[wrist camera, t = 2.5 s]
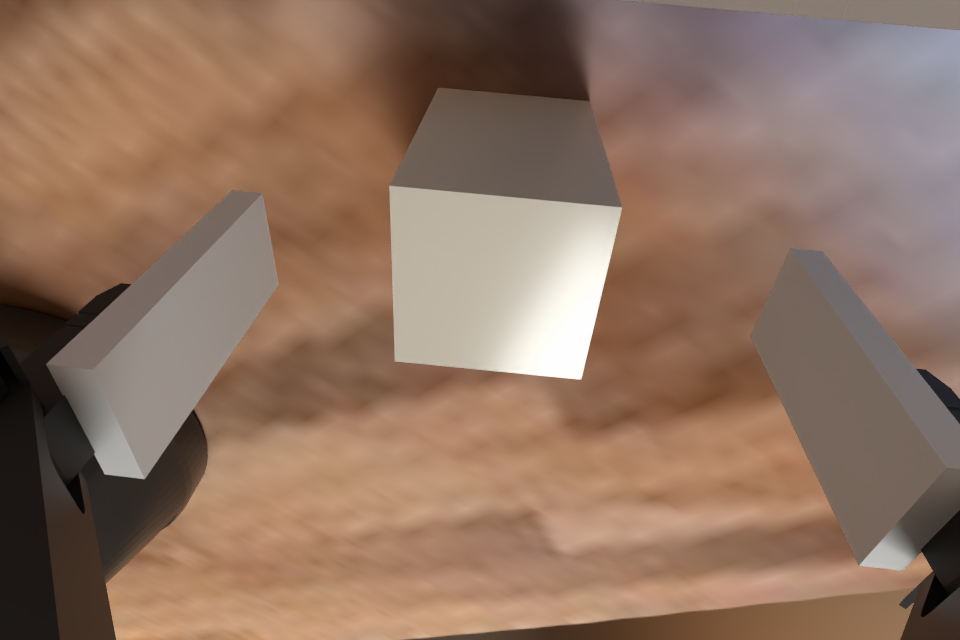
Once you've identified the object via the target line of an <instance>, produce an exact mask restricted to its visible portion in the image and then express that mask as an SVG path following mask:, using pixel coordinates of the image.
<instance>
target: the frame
mask: <svg viewBox="0 0 960 640" xmlns="http://www.w3.org/2000/svg"><path fill="white" fill-rule="evenodd" d="M621 1H632V2H643V3H655V4H666V5H678V6H689V7H700V8H712V9H723V10H735V11H746V12H757V13H769V14H780V15H792V16H803V17H814V18H826V19H837V20H849V21H860V22H871V23H883V24H894V25H906V26H917V27H928V28H940V29H951V30H960V0H621Z"/></svg>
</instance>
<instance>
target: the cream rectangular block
mask: <svg viewBox="0 0 960 640" xmlns="http://www.w3.org/2000/svg"><path fill="white" fill-rule="evenodd" d="M621 211H622V205H621V202H620V198H619V195H618V192H617V188H616V185H615V182H614V178H613V175H612V172H611V169H610V165H609V162H608V159H607V155H606V152H605V149H604V145H603V142H602V139H601V136H600V132H599V129H598V126H597V122H596V119H595V116H594V112H593V109H592V106H591V103H590V101H582V100H571V99H560V98H549V97H537V96H526V95H515V94H504V93H493V92H482V91H471V90H460V89H449V88H438V89H437V91H436V93H435V95H434V97H433V99H432V101H431V103H430V105H429V107H428V109H427V111H426V113H425V115H424V117H423V119H422V121H421V123H420V125H419V127H418V129H417V131H416V133H415V135H414V137H413V139H412V141H411V143H410V145H409V147H408V149H407V151H406V154H405V156H404V158H403V160H402V162H401V164H400V166H399V168H398V170H397V172H396V174H395V176H394V178H393V180H392V182H391V184H390V218H391V250H392V282H393V314H394V346H395V361H398V362H408V363H418V364H428V365H438V366H448V367H458V368H469V369H479V370H489V371H499V372H509V373H519V374H529V375H540V376H550V377H560V378H570V379H580V380H581V378H582V374H583V370H584V365H585V361H586V357H587V353H588V349H589V345H590V340H591V336H592V332H593V328H594V324H595V319H596V315H597V311H598V307H599V303H600V299H601V294H602V290H603V286H604V282H605V278H606V274H607V269H608V265H609V261H610V257H611V253H612V248H613V244H614V240H615V236H616V232H617V228H618V223H619V219H620V215H621Z"/></svg>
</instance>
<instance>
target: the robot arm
mask: <svg viewBox="0 0 960 640" xmlns="http://www.w3.org/2000/svg"><path fill="white" fill-rule="evenodd" d="M278 285H279V283H278V277H277V272H276V266H275V260H274V255H273V249H272V244H271V238H270V232H269V227H268V221H267V216H266V210H265V204H264V199H263V193H254V192H244V191H235V190H232V191H231V192H230V193H229V194H228V195H227V196H226V197H225V198H224V199H223V200H222V201H221V202H220V203H219V204H217V205H216V206H215V207H214V208H213V209H212V210H211V211H210V212H209V213H208V214H207V215H206V216H205V217H203V218H202V219H201V220H200V221H199V222H198V223H197V224H196V225H195V226H194V227H193V228H192V229H191V230H190V231H188V232H187V233H186V234H185V235H184V236H183V237H182V238H181V239H180V240H179V241H178V242H177V243H176V244H174V245H173V246H172V247H171V248H170V249H169V250H168V251H167V252H166V253H165V254H164V255H163V256H162V257H161V258H159V259H158V260H157V261H156V262H155V263H154V264H153V265H152V266H151V267H150V268H149V269H148V270H147V271H145V272H144V273H143V274H142V275H141V276H140V277H139V278H138V279H137V280H136V281H135V282H134V283H133V284H123V283H121V284H119V285H117V286H115V287H113V288H111V289H109V290H107V291H105V292H103V293H101V294H99V295H97V296H96V297H95V298H94V299H92V300H91V301H90V302H89V303H88V304H87V305H86V306H85V307H83V308H82V309H81V310H80V311H79V315H74V316H73V317H72V318H71V319H70V320H69V321H68V322H66V321H64V320H61V319H58V318H55V317H52V316H49V315H45V314H42V313H38V312H34V311H30V310H25V309H20V308H15V307H8V306H0V640H116V637H115V632H114V626H113V621H112V616H111V610H110V605H109V600H108V594H107V589H106V583H107V582H108V581H109V580H110V579H111V578H112V577H113V576H114V575H116V574H117V573H118V572H119V571H120V570H121V569H122V568H123V567H124V566H125V565H126V564H127V563H128V562H130V561H131V560H132V559H133V558H134V557H135V556H136V555H137V554H138V553H139V552H140V551H141V550H142V549H143V548H144V547H145V546H146V545H147V544H148V543H149V542H150V541H151V540H152V539H153V538H154V537H155V536H156V535H157V534H158V533H159V532H160V531H161V530H162V529H164V528H165V527H167V526H168V525H170V524H171V523H172V522H173V521H174V520H175V519H176V518H177V517H178V516H179V515H180V513H181V512H182V511H183V509H184V508H185V506H186V505H187V503H188V501H189V500H190V498H191V496H192V494H193V493H194V491H195V489H196V487H197V486H198V484H199V482H200V480H201V479H202V477H203V475H204V472H205V469H206V466H207V457H208V455H207V446H206V441H205V438H204V434H203V432H202V429H201V427H200V425H199V423H198V421H197V419H196V418H195V416H194V414H193V413H192V410H193V408H194V407H195V406H196V404H197V403H198V401H199V400H200V398H201V397H202V395H203V394H204V393H205V391H206V390H207V388H208V387H209V385H210V384H211V382H212V381H213V379H214V378H215V377H216V375H217V374H218V372H219V371H220V369H221V368H222V366H223V365H224V364H225V362H226V361H227V359H228V358H229V356H230V355H231V353H232V352H233V351H234V349H235V348H236V346H237V345H238V343H239V342H240V340H241V339H242V337H243V336H244V335H245V333H246V332H247V330H248V329H249V327H250V326H251V324H252V323H253V322H254V320H255V319H256V317H257V316H258V314H259V313H260V311H261V310H262V308H263V307H264V306H265V304H266V303H267V301H268V300H269V298H270V297H271V295H272V294H273V293H274V291H275V290H276V288H277V287H278ZM750 337H751V339H752V341H753V343H754V345H755V347H756V349H757V351H758V353H759V356H760V358H761V360H762V362H763V364H764V366H765V368H766V370H767V372H768V375H769V377H770V379H771V381H772V383H773V385H774V387H775V389H776V391H777V394H778V396H779V398H780V400H781V402H782V404H783V406H784V408H785V410H786V413H787V415H788V417H789V419H790V421H791V423H792V425H793V427H794V429H795V432H796V434H797V436H798V438H799V440H800V442H801V444H802V446H803V448H804V451H805V453H806V455H807V457H808V459H809V461H810V463H811V465H812V467H813V470H814V472H815V474H816V476H817V478H818V480H819V482H820V484H821V486H822V489H823V491H824V493H825V495H826V497H827V499H828V501H829V503H830V505H831V508H832V510H833V512H834V514H835V516H836V518H837V520H838V522H839V524H840V527H841V529H842V531H843V533H844V535H845V537H846V539H847V541H848V543H849V546H850V548H851V550H852V552H853V554H854V556H855V558H856V560H857V562H858V565H859V566H867V567H875V568H884V569H892V570H900V571H903V570H904V569H905V568H906V567H907V566H908V565H909V564H910V563H911V562H912V561H913V560H914V559H915V558H916V557H917V556H918V555H919V554H920V553H921V552H922V553H923V554H924V556H925V558H926V559H927V561H928V563H929V565H930V566H931V568H932V570H933V572H932V573H931V574H930V575H929V576H927V577H926V578H925V579H924V580H923V581H922V582H921V583H920V584H919V585H918V586H917V587H916V588H915V589H914V590H913V591H912V592H911V593H910V594H908V596H906V597H905V598H904V599H903V601H902V602H901V603H900V604H899V605H900V606H902V607H903V608H905V609H906V608H908V607H909V606H910V605H911V604H912V603H914V605H913V608H912V610H911V613H910V616H909V619H908V621H907V624H906V626H905V629H904V632H903V634H902V637H901V640H960V399H959V398H958V397H957V395H956V394H955V393H954V392H953V391H952V389H951V388H949V387H948V386H947V385H945V384H944V383H943V382H941V381H940V380H939V379H937V378H936V377H935V376H933V375H932V374H931V373H929V372H928V371H927V370H923V369H916V368H915V367H914V366H913V365H912V363H911V362H910V361H909V360H908V358H907V357H906V356H905V355H904V353H903V352H902V351H901V350H900V348H899V347H898V346H897V344H896V343H895V342H894V341H893V339H892V338H891V337H890V336H889V334H888V333H887V332H886V331H885V329H884V328H883V327H882V326H881V324H880V323H879V322H878V321H877V319H876V318H875V317H874V316H873V314H872V313H871V312H870V310H869V309H868V308H867V307H866V305H865V304H864V303H863V302H862V300H861V299H860V298H859V297H858V295H857V294H856V293H855V292H854V290H853V289H852V288H851V287H850V285H849V284H848V283H847V282H846V280H845V279H844V278H843V276H842V275H841V274H840V273H839V271H838V270H837V269H836V268H835V266H834V265H833V264H832V263H831V261H830V260H829V259H828V258H827V256H826V255H825V254H824V253H823V251H815V250H805V249H796V248H790V251H789V253H788V255H787V257H786V259H785V261H784V264H783V266H782V268H781V270H780V272H779V274H778V277H777V279H776V281H775V283H774V285H773V288H772V290H771V292H770V294H769V296H768V298H767V301H766V303H765V305H764V307H763V309H762V311H761V314H760V316H759V318H758V320H757V322H756V324H755V327H754V329H753V331H752V333H751V335H750Z"/></svg>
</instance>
